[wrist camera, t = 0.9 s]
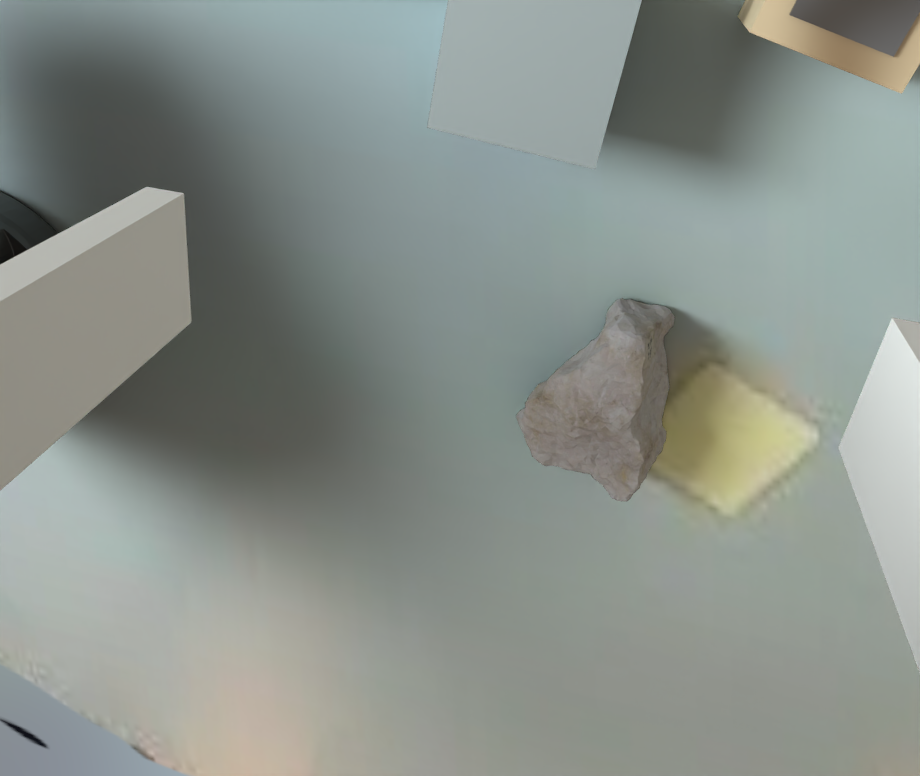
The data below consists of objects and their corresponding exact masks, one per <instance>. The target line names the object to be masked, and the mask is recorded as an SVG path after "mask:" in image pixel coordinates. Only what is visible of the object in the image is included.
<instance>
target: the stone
mask: <svg viewBox="0 0 920 776" xmlns="http://www.w3.org/2000/svg"><path fill="white" fill-rule="evenodd" d="M674 318H675V317H674V315H673V314H672V312H671V311H670V310H669V309H668V308H667V307H665V306H661V305H657V304H652V305H649V304H645V303H642V302H637V301H634V300H632V299H628V300H625V299H623V298H622V299H618V300H616V301H615V302H614V303H613V304H612V305H611V306H610V308H609V309H608V311H607V315H606V324H605V326H604V328H603V329H602V331H601V332H600V334H599V336H598V337H597V338H596V339H594V340H591V341H590V343H589V344H588V346H586V347H585V348H584V349H582V350H580V351H579V352H578V353H577V354H576V355H574V356H573V357H572V358H571V359H569V360H568V361H566V362H565V363H564V364H563V365H562V366H561V367H560V368H558V369H557V370H556V371H555V372H554V374H552V375H551V376H550V377H549V379H548V380H547V381H545V382H542V383H539V384H538V385H537V386H536V388H535V389H534V390H533V391H532V392H531V394H530V395H529V397H528V399H527V401H526V402H525V408H523V409H522V410H520V411H519V412H518V413H517V415H516V418H517V421H518V424H519V426H520V428H521V430H522V432H523V434H524V437H525V440H526V443H527V445H528V447H529V448H530V451H531V454H532V457H534V458H535V459H536V460H537V461H538V462H539V463H541V464H543V465H545V466H549V465H553V466H558V467H561V468H563V469H566V470H572V471H577V472H582V473H587V474H591V476H592V477H593V478H594V479H595V480H596V481H598V482H599V483H600V484H602V485H603V487H604V488H605V489H606V490H607V492H608V493H609V495H610V496H611V497H612V498H613V499H615V500H618V501H628V500H629V499H630V498H631V496H632V495H633V493H635V492H636V491H637V490H638V489H639V488H640V485H641V483H642V482H643V481H644V479H645V478H646V476H647V473H648V471H649V470H650V468H651V466H652V464H653V463H654V462H655V461H656V458H657V456H658V455H659V454H660V453H661V452H662V449H663V444H664V442H665V441H666V430H665V429H664V428H663V425H662V416H663V413H664V407H665V405H666V399H667V396H668V391H669V388H670V386H669V379H668V374H667V373H668V369H667V357H666V352H665V348H664V344H663V341H664V336H665V335H666V334H667V333H668V331H669V329H670V328H672V327H673V324H674Z"/></svg>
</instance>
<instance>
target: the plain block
mask: <svg viewBox="0 0 920 776" xmlns="http://www.w3.org/2000/svg"><path fill="white" fill-rule="evenodd" d="M641 2H642V0H448V3H447V9H446V16H445V22H444V28H443V34H442V40H441V46H440V52H439V58H438V64H437V70H436V76H435V82H434V88H433V94H432V100H431V106H430V113H429V119H428V125H427V128H430V129H434V130H438V131H442V132H446V133H451V134H455V135H459V136H463V137H467V138H471V139H475V140H479V141H483V142H487V143H491V144H495V145H499V146H503V147H507V148H511V149H515V150H519V151H523V152H527V153H531V154H535V155H539V156H543V157H547V158H551V159H555V160H559V161H563V162H567V163H571V164H575V165H579V166H583V167H587V168H591V169H595V168H596V164H597V161H598V157H599V154H600V150H601V146H602V143H603V139H604V136H605V132H606V128H607V125H608V121H609V117H610V114H611V110H612V107H613V103H614V99H615V96H616V92H617V89H618V85H619V81H620V78H621V74H622V70H623V67H624V63H625V60H626V56H627V52H628V49H629V45H630V41H631V38H632V34H633V31H634V27H635V23H636V20H637V16H638V12H639V9H640V5H641Z"/></svg>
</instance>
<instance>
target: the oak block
mask: <svg viewBox="0 0 920 776" xmlns="http://www.w3.org/2000/svg"><path fill="white" fill-rule="evenodd" d="M737 17H738V18H739V19H740V21H741V22H742V23H743V25H744V26H745V27H746V28H747V30H748V31H749V32H750V33H752V34H755V35H757V36H760V37H762V38H765V39H767V40H770V41H772V42H775V43H777V44H780V45H782V46H785V47H787V48H790V49H792V50H794V51H797V52H799V53H802V54H804V55H807V56H809V57H812V58H814V59H817V60H819V61H822V62H824V63H827V64H829V65H832V66H834V67H837V68H839V69H842V70H844V71H847V72H849V73H852V74H854V75H857V76H859V77H862V78H864V79H867V80H869V81H872V82H874V83H877V84H879V85H882V86H884V87H887V88H889V89H892V90H894V91H897V92H899V93H902V92H903V90H904V89H905V87H906V86H907V84H908V82H909V81H910V79H911V77H912V76H913V74H914V72H915V71H916V69H917V67H918V66H919V64H920V0H745V2H744V4H743V6H742V8H741V10H740V12H739V14H738V16H737Z"/></svg>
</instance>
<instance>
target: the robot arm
mask: <svg viewBox="0 0 920 776" xmlns="http://www.w3.org/2000/svg"><path fill="white" fill-rule="evenodd" d="M191 322H192V321H191V304H190V287H189V270H188V253H187V236H186V219H185V202H184V193H180V192H174V191H168V190H163V189H157V188H151V187H145V188H143V189H141V190H139V191H138V192H136V193H134V194H132V195H130V196H128V197H126V198H124V199H123V200H121V201H119V202H117V203H115V204H113V205H111V206H109V207H108V208H106V209H104V210H102V211H100V212H98V213H96V214H94V215H92V216H91V217H89V218H87V219H85V220H83V221H81V222H79V223H77V224H76V225H74V226H72V227H70V228H68V229H66V230H64V231H62V232H60V233H59V234H58V233H57V232H56V231H55V230H54V229H53V228H52V227H51V226H50V225H49V224H48V223H46V222H45V221H44V220H43V219H42V218H41V217H39V216H38V215H37V214H36V213H34V212H33V211H32V210H30V209H29V208H27V207H26V206H25V205H23V204H22V203H20V202H18V201H17V200H15V199H13V198H11V197H10V196H8V195H6V194H4V193H2V192H0V491H1V490H2V489H3V488H4V487H5V486H6V485H7V484H8V483H10V482H11V481H12V480H13V479H14V478H15V477H16V476H18V475H19V474H20V473H21V472H22V471H23V470H24V469H26V468H27V467H28V466H29V465H30V464H31V463H32V462H33V461H35V460H36V459H37V458H38V457H39V456H40V455H41V454H43V453H44V452H45V451H46V450H47V449H48V448H49V447H50V446H52V445H53V444H54V443H55V442H56V441H57V440H58V439H60V438H61V437H62V436H63V435H64V434H65V433H66V432H68V431H69V430H70V429H71V428H72V427H73V426H74V425H75V424H77V423H78V422H79V421H80V420H81V419H82V418H83V417H85V416H86V415H87V414H88V413H89V412H90V411H91V410H92V409H94V408H95V407H96V406H97V405H98V404H99V403H100V402H102V401H103V400H104V399H105V398H106V397H107V396H108V395H110V394H111V393H112V392H113V391H114V390H115V389H116V388H117V387H119V386H120V385H121V384H122V383H123V382H124V381H125V380H127V379H128V378H129V377H130V376H131V375H132V374H133V373H134V372H136V371H137V370H138V369H139V368H140V367H141V366H142V365H144V364H145V363H146V362H147V361H148V360H149V359H150V358H152V357H153V356H154V355H155V354H156V353H157V352H158V351H159V350H161V349H162V348H163V347H164V346H165V345H166V344H167V343H169V342H170V341H171V340H172V339H173V338H174V337H175V336H176V335H178V334H179V333H180V332H181V331H182V330H183V329H184V328H186V327H187V326H188V325H189V324H190V323H191ZM838 448H839V451H840V454H841V457H842V459H843V462H844V465H845V468H846V470H847V473H848V476H849V479H850V482H851V484H852V487H853V490H854V493H855V495H856V498H857V501H858V504H859V507H860V509H861V512H862V515H863V518H864V520H865V523H866V526H867V529H868V531H869V534H870V537H871V540H872V543H873V545H874V548H875V551H876V554H877V556H878V559H879V562H880V565H881V567H882V570H883V573H884V576H885V579H886V581H887V584H888V587H889V590H890V592H891V595H892V598H893V601H894V604H895V606H896V609H897V612H898V615H899V617H900V620H901V623H902V626H903V628H904V631H905V634H906V637H907V640H908V642H909V645H910V648H911V651H912V653H913V656H914V659H915V662H916V664H917V667H918V670H919V673H920V323H919V322H913V321H907V320H902V319H896V318H892V319H891V321H890V324H889V326H888V329H887V331H886V334H885V336H884V338H883V341H882V343H881V346H880V348H879V351H878V353H877V355H876V358H875V360H874V363H873V365H872V367H871V370H870V372H869V375H868V377H867V380H866V382H865V384H864V387H863V389H862V392H861V394H860V397H859V399H858V401H857V404H856V406H855V409H854V411H853V413H852V416H851V418H850V421H849V423H848V426H847V428H846V430H845V433H844V435H843V438H842V440H841V443H840V445H839V447H838Z"/></svg>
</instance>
